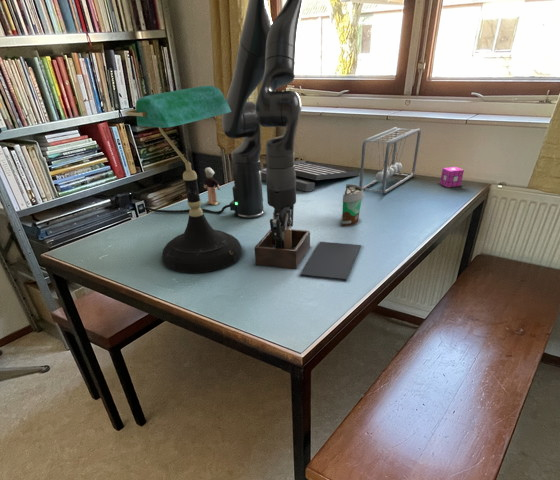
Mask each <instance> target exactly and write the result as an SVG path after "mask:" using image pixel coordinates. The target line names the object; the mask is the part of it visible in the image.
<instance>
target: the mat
mask: <svg viewBox="0 0 560 480" xmlns="http://www.w3.org/2000/svg"><path fill="white" fill-rule="evenodd" d="M361 247H362V245H361V244H353V243H339V242H330V241H320V242H319V243H318V244H317V246H316V248H315V250H314V251H313V253H312V255H311V257H310V258H309V260H308V261H307V263H306V264H305V266H304V268H303V269H302V271H301V272H300V275H299V276H300V277H308V278H315V279H316V278H317V279H325V280H326V279H327V280H335V281H344V282H347V280H348V277H349V275H350V273H351V270H352V268H353V265H354V263H355V261H356V258H357V256H358V254H359V251H360V249H361Z"/></svg>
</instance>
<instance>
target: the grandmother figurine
mask: <svg viewBox="0 0 560 480" xmlns="http://www.w3.org/2000/svg"><path fill="white" fill-rule="evenodd" d="M204 173H205V177H206V178H205V179H204V182H203V189H207V198H208V200H207V201H206V205H212V206H217V205H219V202H218V198H217V197H218V196H217V191H220V190H221V187H220V184H219V182H218V181H217V180H216V179H215V178H214V177H213V176H214V175H215V173H216V172H215V171H214V169H212V168H211V167H205V168H204ZM216 188H217V191H216Z"/></svg>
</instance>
